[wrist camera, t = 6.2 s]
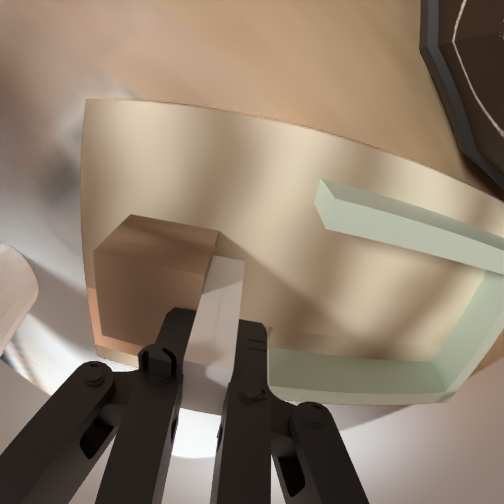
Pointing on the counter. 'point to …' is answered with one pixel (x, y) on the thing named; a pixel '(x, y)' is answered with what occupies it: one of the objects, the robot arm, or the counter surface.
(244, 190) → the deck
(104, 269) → the block
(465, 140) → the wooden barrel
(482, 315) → the cubby
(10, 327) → the shot glass
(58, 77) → the counter surface
